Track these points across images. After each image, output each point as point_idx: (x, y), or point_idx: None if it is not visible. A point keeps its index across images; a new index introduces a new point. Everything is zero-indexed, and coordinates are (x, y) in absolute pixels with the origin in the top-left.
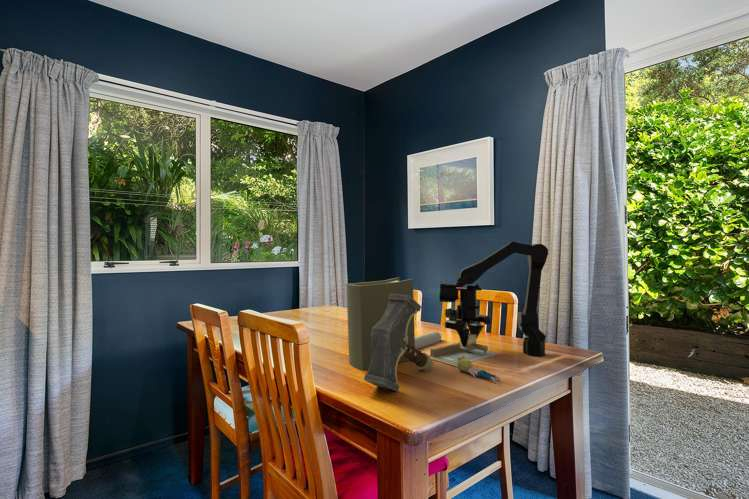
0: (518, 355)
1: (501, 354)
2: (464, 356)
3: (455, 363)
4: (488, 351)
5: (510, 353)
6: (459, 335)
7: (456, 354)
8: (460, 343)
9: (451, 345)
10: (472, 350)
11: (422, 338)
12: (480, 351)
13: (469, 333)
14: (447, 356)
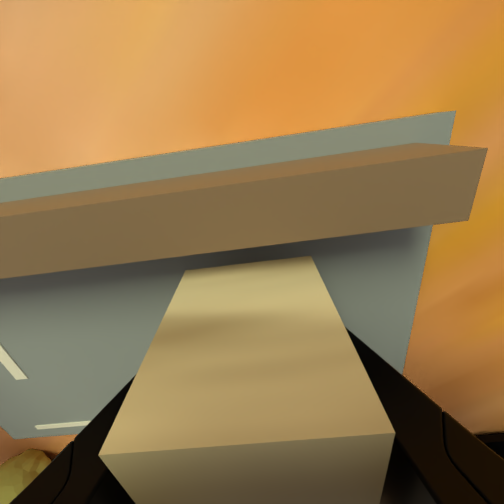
0: (480, 420)
1: (436, 376)
2: (143, 357)
3: (14, 418)
4: (400, 348)
5: (499, 385)
6: (26, 502)
7: (111, 296)
8: (170, 307)
9: (43, 259)
10: (326, 272)
11: None
12: (353, 323)
13: (381, 470)
14: (7, 305)
